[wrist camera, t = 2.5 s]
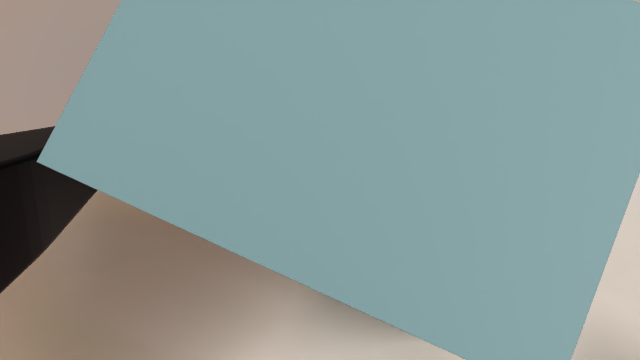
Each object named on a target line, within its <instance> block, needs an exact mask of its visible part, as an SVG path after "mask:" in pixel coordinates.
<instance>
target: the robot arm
mask: <svg viewBox="0 0 640 360" xmlns="http://www.w3.org/2000/svg"><path fill="white" fill-rule="evenodd" d="M54 128H55V126H54V127H48V128H41V129H35V130H29V131H22V132H16V133H10V134H3V135H0V293H1V292H2V291H3V290H4V289H5V288H6V287H8V286H9V285H10V284H11V283H12V282H13V281H14V280H15V279H16V278H17V277H18V276H19V275H20V274H21V273H22V272H23V271H24V270H26V269H27V268H28V267H29V266H30V265H31V264H32V263H33V262H34V261H35V260H36V259H37V258H38V257H39V256H40V255H41V254H42V253H43V252H44V251H45V250H46V249H47V248H48V247H49V245H50V244H51V243H52V242H53V241H54V240H55V239H56V238H57V236H58V235H59V234H60V233H61V232H62V231H63V230H64V228H65V227H66V226H67V225H68V224H69V223H70V221H71V220H72V219H73V218H74V217H75V216H76V214H77V213H78V212H79V211H80V210H81V209H82V207H83V206H84V205H85V204H86V203H87V202H88V201H89V199H90V198H91V197H92V196H93V195H94V194H95V192H96V191H97V189H95V188H92V187H90V186H88V185H86V184H84V183H82V182H79V181H77V180H75V179H73V178H71V177H69V176H66V175H64V174H62V173H60V172H58V171H56V170H53V169H51V168H49V167H47V166H45V165H43V164H40V163H38V162H37V160H38V158H39V156H40V154H41V152H42V150H43V149H44V147H45V145H46V143H47V141H48V139H49V137H50V135H51V133H52V132H53V130H54Z"/></svg>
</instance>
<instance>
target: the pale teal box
mask: <svg viewBox="0 0 640 360" xmlns="http://www.w3.org/2000/svg"><path fill="white" fill-rule="evenodd" d="M37 162H38V163H40V164H43V165H45V166H47V167H49V168H51V169H53V170H56V171H58V172H60V173H62V174H64V175H66V176H69V177H71V178H73V179H75V180H77V181H79V182H82V183H84V184H86V185H88V186H90V187H92V188H95V189H97V190H99V191H101V192H103V193H106V194H108V195H110V196H112V197H114V198H116V199H119V200H121V201H123V202H125V203H127V204H129V205H132V206H134V207H136V208H138V209H140V210H142V211H145V212H147V213H149V214H151V215H153V216H155V217H158V218H160V219H162V220H164V221H166V222H168V223H171V224H173V225H175V226H177V227H179V228H182V229H184V230H186V231H188V232H190V233H192V234H195V235H197V236H199V237H201V238H203V239H205V240H208V241H210V242H212V243H214V244H216V245H218V246H221V247H223V248H225V249H227V250H229V251H231V252H234V253H236V254H238V255H240V256H242V257H244V258H247V259H249V260H251V261H253V262H255V263H257V264H260V265H262V266H264V267H266V268H268V269H271V270H273V271H275V272H277V273H279V274H281V275H284V276H286V277H288V278H290V279H292V280H294V281H297V282H299V283H301V284H303V285H305V286H307V287H310V288H312V289H314V290H316V291H318V292H320V293H323V294H325V295H327V296H329V297H331V298H333V299H336V300H338V301H340V302H342V303H344V304H347V305H349V306H351V307H353V308H355V309H357V310H360V311H362V312H364V313H366V314H368V315H370V316H373V317H375V318H377V319H379V320H381V321H383V322H386V323H388V324H390V325H392V326H394V327H396V328H399V329H401V330H403V331H405V332H407V333H409V334H412V335H414V336H416V337H418V338H420V339H422V340H425V341H427V342H429V343H431V344H433V345H436V346H438V347H440V348H442V349H444V350H446V351H449V352H451V353H453V354H455V355H457V356H459V357H462V358H464V359H466V360H571V358H572V355H573V352H574V349H575V347H576V344H577V341H578V339H579V336H580V333H581V330H582V328H583V325H584V322H585V320H586V317H587V314H588V311H589V309H590V306H591V303H592V301H593V298H594V295H595V292H596V290H597V287H598V284H599V282H600V279H601V276H602V273H603V271H604V268H605V265H606V263H607V260H608V257H609V254H610V252H611V249H612V246H613V244H614V241H615V238H616V235H617V233H618V230H619V227H620V225H621V222H622V219H623V217H624V214H625V211H626V208H627V206H628V203H629V200H630V198H631V195H632V192H633V189H634V187H635V184H636V181H637V179H638V176H639V173H640V2H636V1H633V0H122V1H121V2H120V5H119V6H118V8H117V10H116V12H115V14H114V16H113V18H112V20H111V22H110V24H109V25H108V27H107V29H106V31H105V33H104V35H103V37H102V39H101V40H100V43H99V44H98V46H97V48H96V50H95V52H94V54H93V56H92V58H91V59H90V61H89V63H88V65H87V67H86V69H85V71H84V73H83V75H82V77H81V78H80V80H79V82H78V84H77V86H76V88H75V90H74V92H73V94H72V95H71V97H70V99H69V101H68V103H67V105H66V107H65V109H64V111H63V113H62V114H61V116H60V118H59V120H58V122H57V124H56V126H55V128H54V130H53V132H52V133H51V135H50V137H49V139H48V141H47V143H46V145H45V147H44V149H43V150H42V152H41V154H40V156H39V158H38V160H37Z"/></svg>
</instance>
